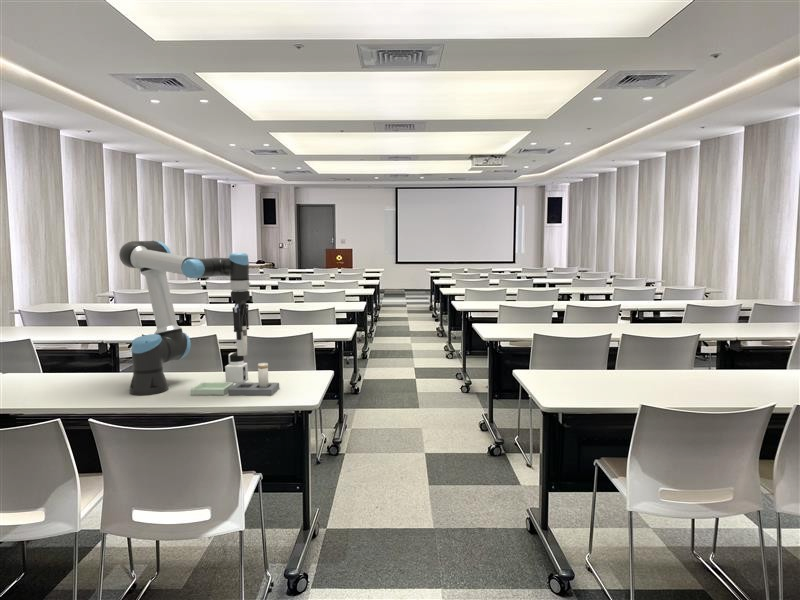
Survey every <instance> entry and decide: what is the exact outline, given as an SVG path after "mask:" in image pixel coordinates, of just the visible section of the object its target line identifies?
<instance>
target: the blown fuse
mask: <svg viewBox="0 0 800 600" xmlns="http://www.w3.org/2000/svg"><path fill="white" fill-rule="evenodd" d="M247 328H248V327H247ZM247 328H246V326H242V332H243V342H244V347H243V348H237V347H236V349H237V351H236V352H237V354H238V356H244V357H245V356H248V330H247Z"/></svg>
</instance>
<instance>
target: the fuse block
mask: <svg viewBox="0 0 800 600" xmlns="http://www.w3.org/2000/svg"><path fill="white" fill-rule="evenodd" d="M268 385H269V388H259V382H243V383H234V386H233V387H231V388H230V389H228V393H227V394H228V396H232V397H233V396H236V397H237V396H242V397H243V396H248V397H249V396H252V397H253V396H255V397H256V396H257V397H261V396H263V397H270V396H273V395H274V394H275V393H276V392H277V391H278V390H279V389H280V382H268Z"/></svg>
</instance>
